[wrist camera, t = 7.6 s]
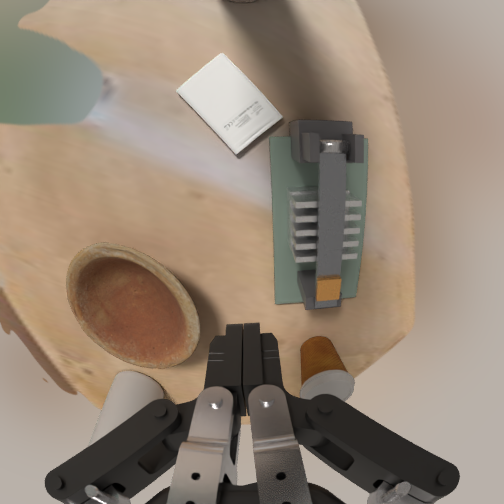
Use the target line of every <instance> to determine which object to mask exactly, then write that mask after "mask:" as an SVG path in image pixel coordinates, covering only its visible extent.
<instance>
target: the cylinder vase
mask: <svg viewBox="0 0 504 504" xmlns="http://www.w3.org/2000/svg"><path fill="white" fill-rule="evenodd" d="M163 397H164V393H163V390H162V388H161V386H160V385H159V384H158V383H157V382H156V381H155V380H153V379H152V378H150V377H148V376H147V375H144V374H142V373H139V372H135V371H122V372H120V373H118V374H117V375H116V376H115V378H114V381H113V383H112V385H111V388H110V390H109V393H108V395H107V398H106V400H105V403H104V405H103V408H102V410H101V413H100V415H99V418H98V420H97V423H96V426H95V428H94V431H93V434H92V437H91V440H90V442H89V445H88V447H89V446H90V445H92V444H93V443H95V442H96V441H98V440H99V439H100V438H102V437H103V436H105V435H106V434H108V433H109V432H110V431H112V430H113V429H115V428H116V427H117V426H119V425H120V424H122V423H123V422H124V421H126V420H127V419H128V418H130V417H131V416H133V415H134V414H135V413H137V412H138V411H139V410H141V409H142V408H143V407H145V406H146V405H147V404H149V403H150V402H152V401H154V400H157V399H163Z"/></svg>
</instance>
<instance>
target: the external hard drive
mask: <svg viewBox="0 0 504 504" xmlns="http://www.w3.org/2000/svg"><path fill="white" fill-rule="evenodd" d="M176 92H177V93H178V94H179V95H180V96H181V97H182V98H183V99H184V100H185V101H186V102H187V103H188V104H189V105H190V106H191V107H192V108H193V109H194V110H195V111H196V112H197V113H198V114H199V115H200V116H201V117H202V118H203V119H204V121H205V122H206V123H207V124H208V125H209V126H210V127H211V128H212V129H213V130H214V131H215V132H216V133H217V134H218V136H219V137H220V138H221V139H222V140H223V141H224V142H225V143H226V144H227V145H228V146H229V147H230V149H231V150H232V151H233V152H234V153H235V154H236V155H237V154H238V153H239V152H240V151H241V150H243V149H244V148H245V147H246V146H247V145H249V144H250V143H251V142H252V141H253V140H255V139H256V138H257V137H258V136H260V135H261V134H262V133H263V132H265V131H266V130H267V129H268V128H270V127H271V126H272V125H274V124H275V123H276V122H277V121H279V120H280V119H281V118H283V116H282V115H281V114H280V113H279V112H278V111H277V109H276V108H275V107H274V106H273V105H272V104H271V103H270V101H269V100H268V99H267V98H266V97H265V96H264V95H263V94H262V93H261V91H260V90H259V89H258V88H257V87H256V86H255V85H254V84H253V83H252V82H251V81H250V80H249V79H248V78H247V77H246V76H245V74H244V73H243V72H242V71H241V70H240V69H239V68H238V67H237V66H236V65H235V64H234V63H233V62H232V61H231V60H230V59H228V58H227V57H226V56H225V55H224V54H223V53H221V54H219V55H218V56H217V57H215V58H214V59H213V60H211V61H210V62H209V63H208V64H206V65H205V66H204V67H203V68H201V69H200V70H199V71H198V72H197V73H195V74H194V75H193V76H192V77H191V78H189V79H188V80H187V81H186V82H185V83H184V84H183V85H181V86H180V87H179V88H178V89H177V90H176Z"/></svg>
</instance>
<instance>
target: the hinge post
mask: <svg viewBox="0 0 504 504" xmlns="http://www.w3.org/2000/svg"><path fill="white" fill-rule="evenodd" d="M289 130H290V136H291V157H292V159H294V160H295V161H297V162H299V163H318V162H320V142H319V139H327V140H348V141H349V143H350V153H349V154H348V155H346V163H353V162H354V163H364V135H356V134H353V128H352V122H347V121H328V120H296V121H292V122H289Z"/></svg>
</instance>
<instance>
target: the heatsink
mask: <svg viewBox="0 0 504 504" xmlns="http://www.w3.org/2000/svg"><path fill="white" fill-rule="evenodd" d="M358 206H362V200H360V199H359V198H357V197H355V196H354V195H352V194H351V193H350V191H349V190H348V189H346V201H345V222H344V238H343V251H342V260H344V259H357V254H358V253H357V252H356V251H355V250H354V249H353V246H358V244H359V241H358V240H357V238H356V237H355V236H354V235H353V234H357V233H360V228H359V227H358V226H357V225H356V224H355V223H354V222H353V221H352V220H361V214H360V213H358V212H357V211H356V210H355V209H353V208H352V207H358ZM317 229H318V186H307V187H287V236H288V244H289V247H290V250H291V251H292V254H293V257H294V259H295V262H296V263H299V262H314V261H316V257H317Z"/></svg>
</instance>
